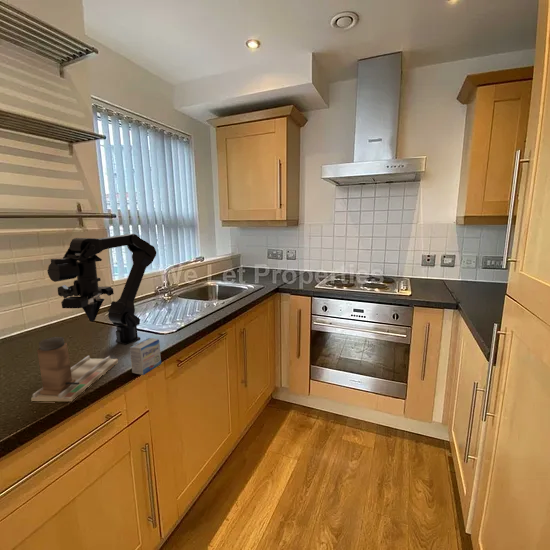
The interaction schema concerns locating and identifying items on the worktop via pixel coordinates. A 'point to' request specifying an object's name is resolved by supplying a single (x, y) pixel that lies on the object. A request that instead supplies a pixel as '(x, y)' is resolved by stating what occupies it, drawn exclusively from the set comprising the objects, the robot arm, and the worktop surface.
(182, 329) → the worktop surface
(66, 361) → the post
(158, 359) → the medicine box
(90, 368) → the scale board
